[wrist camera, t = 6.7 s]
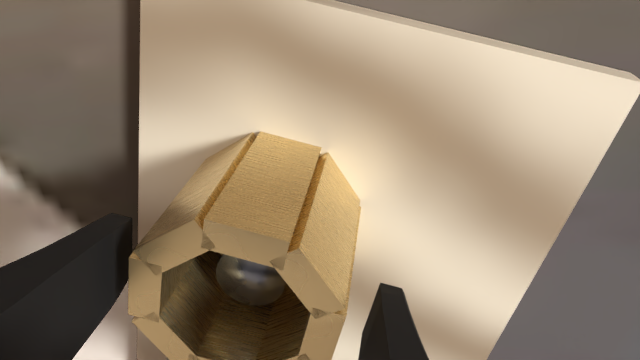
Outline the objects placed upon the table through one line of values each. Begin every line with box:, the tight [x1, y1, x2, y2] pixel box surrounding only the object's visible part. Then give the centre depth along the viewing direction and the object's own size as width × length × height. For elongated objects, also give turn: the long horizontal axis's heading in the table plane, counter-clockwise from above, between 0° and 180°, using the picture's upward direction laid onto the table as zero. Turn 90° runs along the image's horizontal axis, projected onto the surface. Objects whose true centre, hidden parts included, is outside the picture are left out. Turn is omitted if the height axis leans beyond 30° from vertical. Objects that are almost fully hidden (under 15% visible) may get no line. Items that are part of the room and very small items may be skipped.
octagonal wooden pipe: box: [128, 131, 361, 360], centre depth 14 cm, size 6×6×5 cm
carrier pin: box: [216, 254, 286, 306], centre depth 15 cm, size 2×2×4 cm
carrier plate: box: [137, 0, 640, 360], centre depth 18 cm, size 20×14×1 cm
